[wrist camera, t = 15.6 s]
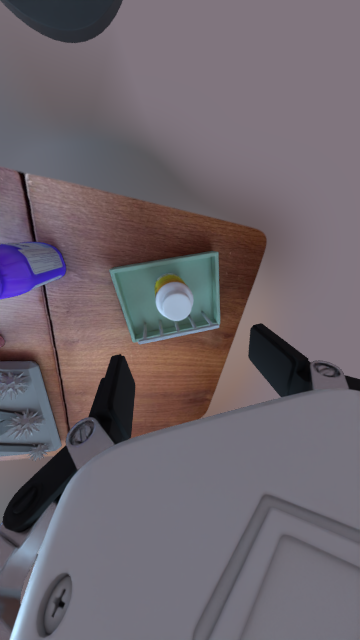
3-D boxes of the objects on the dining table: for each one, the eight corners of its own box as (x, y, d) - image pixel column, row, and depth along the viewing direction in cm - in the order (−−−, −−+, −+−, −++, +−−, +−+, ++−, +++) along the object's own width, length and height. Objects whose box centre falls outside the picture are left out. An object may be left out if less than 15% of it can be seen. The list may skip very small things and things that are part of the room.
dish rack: (112, 267, 28) (101, 275, 21) (212, 250, 29) (230, 253, 23) (134, 335, 34) (130, 357, 28) (215, 318, 36) (230, 336, 29)
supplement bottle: (149, 278, 29) (149, 295, 20) (178, 268, 29) (192, 280, 20) (160, 305, 31) (164, 331, 22) (187, 296, 31) (202, 318, 22)
